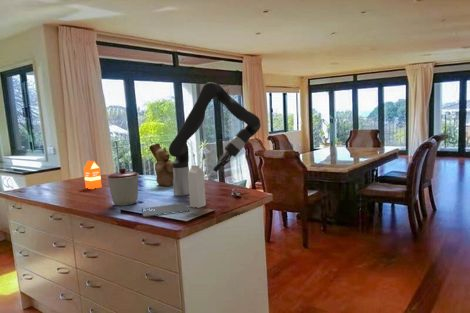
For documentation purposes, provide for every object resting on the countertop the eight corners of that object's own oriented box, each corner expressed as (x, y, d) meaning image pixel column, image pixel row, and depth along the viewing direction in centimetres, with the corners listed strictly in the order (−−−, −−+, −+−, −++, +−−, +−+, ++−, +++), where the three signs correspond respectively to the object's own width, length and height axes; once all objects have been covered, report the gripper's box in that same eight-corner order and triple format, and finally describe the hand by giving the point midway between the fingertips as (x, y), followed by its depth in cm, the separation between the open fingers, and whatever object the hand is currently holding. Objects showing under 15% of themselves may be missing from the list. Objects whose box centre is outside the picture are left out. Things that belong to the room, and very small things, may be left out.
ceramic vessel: (168, 187, 245) (165, 144, 241) (146, 185, 256) (142, 144, 253) (183, 183, 258) (180, 142, 254) (162, 181, 270) (158, 142, 266)
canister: (116, 200, 213) (112, 166, 210) (145, 199, 212) (142, 164, 210) (104, 208, 195) (100, 171, 192) (136, 207, 194) (132, 169, 192)
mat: (143, 217, 173) (143, 216, 173) (141, 209, 188) (141, 208, 188) (189, 211, 179) (189, 209, 179) (184, 204, 194) (184, 203, 194)
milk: (197, 204, 193) (195, 164, 190) (206, 205, 189) (203, 164, 187) (190, 206, 188) (187, 166, 185) (198, 208, 184) (195, 166, 182)
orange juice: (95, 186, 265) (92, 160, 263) (101, 187, 260) (99, 160, 258) (85, 188, 259) (82, 161, 257) (92, 189, 254) (89, 161, 252)
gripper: (226, 141, 197) (206, 165, 195) (233, 142, 184) (212, 167, 182) (236, 149, 199) (216, 173, 197) (243, 151, 186) (222, 176, 184)
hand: (214, 170), depth 189 cm, fingers closed
